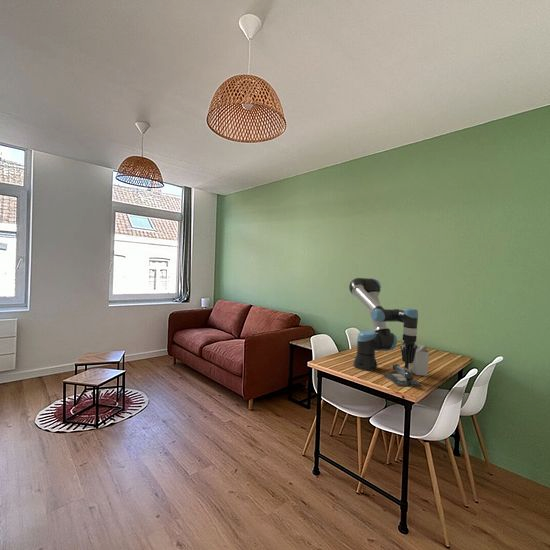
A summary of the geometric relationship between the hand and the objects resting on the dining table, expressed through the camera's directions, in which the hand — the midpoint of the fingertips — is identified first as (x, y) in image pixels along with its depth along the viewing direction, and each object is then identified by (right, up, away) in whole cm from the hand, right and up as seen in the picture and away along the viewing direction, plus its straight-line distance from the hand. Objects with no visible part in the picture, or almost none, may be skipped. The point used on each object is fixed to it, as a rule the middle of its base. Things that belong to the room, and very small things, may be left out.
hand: (407, 373), depth 175 cm
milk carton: (+13, -4, +11) cm, 17 cm away
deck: (-5, -3, -3) cm, 7 cm away
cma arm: (-4, +1, -3) cm, 6 cm away
